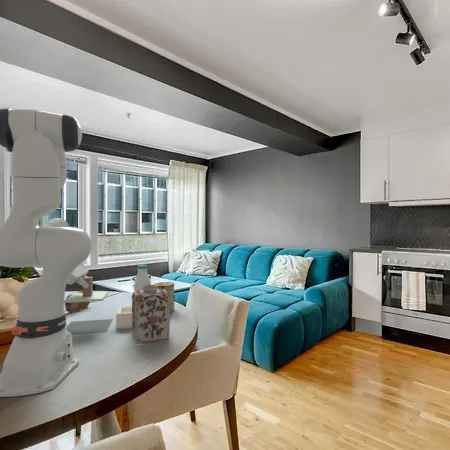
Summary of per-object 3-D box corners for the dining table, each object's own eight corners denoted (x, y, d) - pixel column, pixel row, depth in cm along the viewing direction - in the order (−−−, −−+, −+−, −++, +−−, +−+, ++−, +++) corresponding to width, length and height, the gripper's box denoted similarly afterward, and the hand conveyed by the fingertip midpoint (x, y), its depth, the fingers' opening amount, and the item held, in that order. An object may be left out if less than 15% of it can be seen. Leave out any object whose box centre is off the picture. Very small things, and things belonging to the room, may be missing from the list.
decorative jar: (134, 344, 105) (134, 289, 105) (131, 332, 116) (131, 283, 116) (170, 339, 110) (170, 287, 110) (164, 328, 121) (163, 281, 121)
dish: (143, 328, 121) (143, 312, 121) (116, 329, 119) (116, 313, 119) (145, 320, 131) (144, 305, 131) (119, 321, 129) (119, 307, 129)
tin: (69, 315, 139) (69, 295, 139) (63, 314, 140) (63, 295, 140) (90, 306, 154) (90, 288, 154) (85, 305, 154) (84, 288, 154)
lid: (102, 300, 117) (102, 279, 117) (64, 302, 114) (64, 280, 114) (108, 293, 129) (108, 274, 130) (73, 295, 127) (73, 275, 127)
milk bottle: (147, 309, 147) (146, 266, 147) (131, 309, 148) (131, 266, 148) (153, 305, 155) (153, 264, 154) (138, 304, 156) (138, 263, 156)
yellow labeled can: (150, 312, 143) (150, 285, 143) (159, 306, 152) (159, 281, 152) (169, 313, 141) (169, 286, 141) (177, 308, 150) (177, 282, 150)
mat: (106, 333, 116) (106, 332, 116) (58, 336, 113) (58, 335, 113) (112, 320, 132) (112, 319, 132) (71, 322, 128) (71, 321, 128)
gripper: (59, 257, 110) (89, 284, 112) (75, 253, 130) (100, 276, 132) (45, 271, 109) (76, 298, 111) (63, 264, 129) (88, 287, 131)
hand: (89, 286), depth 122 cm, fingers closed on lid, 3 cm apart
